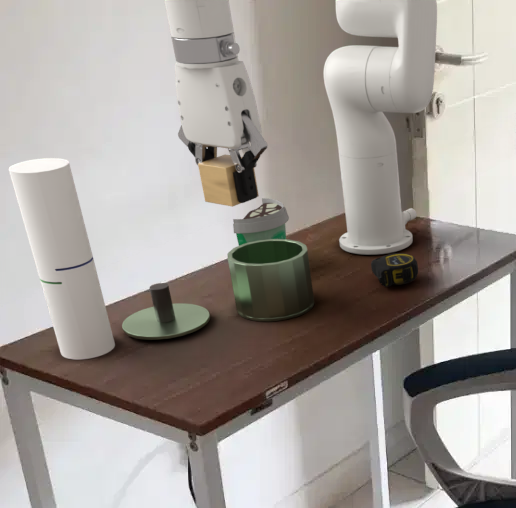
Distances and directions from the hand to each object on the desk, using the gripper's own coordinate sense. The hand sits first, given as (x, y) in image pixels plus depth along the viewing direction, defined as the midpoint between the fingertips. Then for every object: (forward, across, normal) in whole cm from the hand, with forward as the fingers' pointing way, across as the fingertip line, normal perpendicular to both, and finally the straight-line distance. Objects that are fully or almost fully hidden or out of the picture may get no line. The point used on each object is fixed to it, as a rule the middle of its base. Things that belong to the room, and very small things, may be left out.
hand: (231, 195), depth 134 cm
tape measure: (+19, -7, -23) cm, 31 cm away
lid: (+18, +12, +6) cm, 22 cm away
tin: (+19, +3, -7) cm, 21 cm away
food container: (+19, +14, -19) cm, 31 cm away
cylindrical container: (+19, +16, +17) cm, 30 cm away
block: (0, 0, 0) cm, 0 cm away
